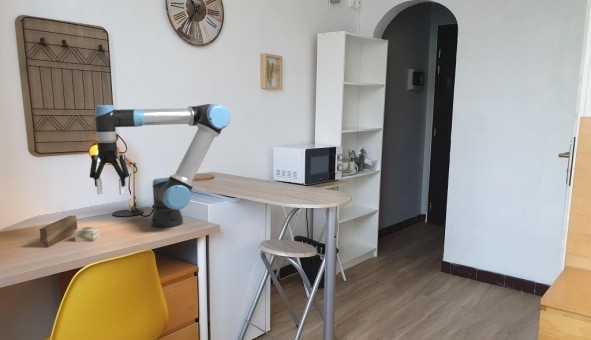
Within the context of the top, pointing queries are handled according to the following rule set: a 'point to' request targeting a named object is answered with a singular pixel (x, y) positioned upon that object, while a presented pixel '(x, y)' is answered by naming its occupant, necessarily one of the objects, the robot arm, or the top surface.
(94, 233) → the beech block
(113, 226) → the top surface
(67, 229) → the walnut board
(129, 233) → the top surface
